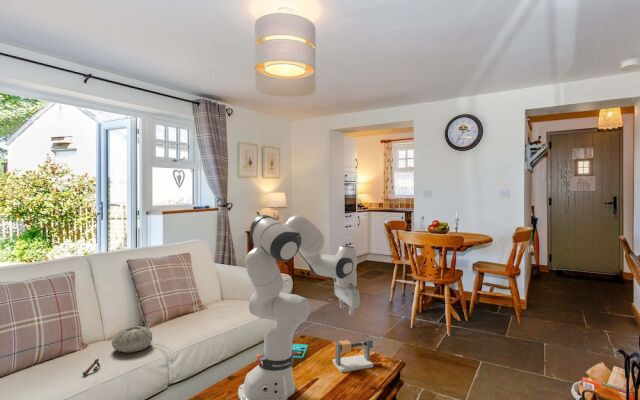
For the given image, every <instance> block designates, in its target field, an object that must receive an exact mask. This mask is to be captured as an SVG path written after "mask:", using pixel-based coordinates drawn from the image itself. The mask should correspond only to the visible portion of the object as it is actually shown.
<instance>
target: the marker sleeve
mask: <svg viewBox="0 0 640 400" xmlns="http://www.w3.org/2000/svg"><path fill="white" fill-rule="evenodd" d="M338 342H339V343H340V344H341V345H342V349H341V354H347V353H352V347H351V344H352V342H351V341H349V339H345V340H339V341H338Z"/></svg>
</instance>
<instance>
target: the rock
mask: <svg viewBox="0 0 640 400" xmlns="http://www.w3.org/2000/svg"><path fill="white" fill-rule="evenodd" d="M111 341H112V342H111V347H112V348H113V349H114V350H116V351H118V352H122V353H129V354H130V353H136V352H139V351H142V350H145V349H147V347H148V346H150V345H151V343H152V341H153V332H152V331H151V330H150V329H148V328H147V327H145V326H142V325H134V326H129V327H126V328H124V329H121V330H120V331H119V332H117V333H116V334H115V335H114V337H113V339H112V340H111Z"/></svg>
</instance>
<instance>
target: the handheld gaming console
mask: <svg viewBox="0 0 640 400" xmlns="http://www.w3.org/2000/svg"><path fill="white" fill-rule="evenodd" d="M308 347H309V346H308V344H302V343H292V354H293V359H295V358H296V359H303V358H304V356H305V354H306V352H307V349H308ZM297 354H300V355H297Z"/></svg>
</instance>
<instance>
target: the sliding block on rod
mask: <svg viewBox="0 0 640 400" xmlns="http://www.w3.org/2000/svg"><path fill="white" fill-rule="evenodd" d="M373 343H374V341H373V339H371V338H368V337H365V338H364V341H360V342H354V343H351V348H356V347H364V351H363V352H364V354H358V355H351V356H345V357H342V356H341V354H342V353H341V349H342V345H341V344H340V343H339V341H336V342H335V358H333V359H332V364H333V365H334V366H335V367H336V369H338V371H339V372H340V373H346V372H347V373H348V372H352V371H353V372H354V371H358V370H364V369H370V368H373V367H374V363H373V362H372V361H371V360H370V359H371V358H370V357H371V356H370V355H371V354H370V353H371V349H372V348H373V346H374V344H373Z"/></svg>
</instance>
